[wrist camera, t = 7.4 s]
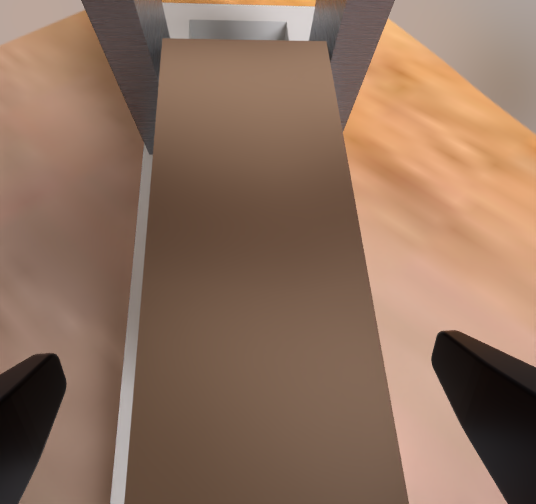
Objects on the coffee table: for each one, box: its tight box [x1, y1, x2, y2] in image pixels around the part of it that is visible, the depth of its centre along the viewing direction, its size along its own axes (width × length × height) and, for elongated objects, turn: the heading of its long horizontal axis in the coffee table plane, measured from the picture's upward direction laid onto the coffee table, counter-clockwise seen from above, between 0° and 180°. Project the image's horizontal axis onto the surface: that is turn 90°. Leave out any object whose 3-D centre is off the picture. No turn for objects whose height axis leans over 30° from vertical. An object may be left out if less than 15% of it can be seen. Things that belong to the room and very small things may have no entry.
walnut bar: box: [124, 38, 409, 504], centre depth 10 cm, size 10×4×8 cm, turn 3°
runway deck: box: [110, 3, 315, 504], centre depth 16 cm, size 28×10×2 cm, turn 3°
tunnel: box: [81, 0, 395, 155], centre depth 12 cm, size 4×9×10 cm, turn 93°
